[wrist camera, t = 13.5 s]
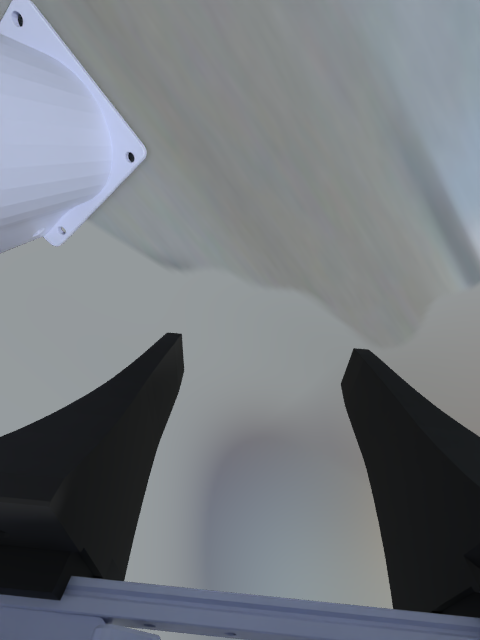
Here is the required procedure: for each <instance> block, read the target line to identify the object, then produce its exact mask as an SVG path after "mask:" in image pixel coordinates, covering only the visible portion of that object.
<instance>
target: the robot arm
mask: <svg viewBox="0 0 480 640" xmlns="http://www.w3.org/2000/svg"><path fill="white" fill-rule="evenodd" d="M20 14H21V16H22V18H23V26H21V27H20V25H19V23H18V16H19V15H20ZM130 152H131V153H132V154H133V155H134V157H135V160H134V162H131V161H130V160H129V158H128V155H129V153H130ZM146 154H147V151H146V148H145V146H144V144H143V143H142V142H141V141H140V139H139V138H138V137H137V135H136V134H135V133H134V132H133V130H132V129H131V128H130V126H129V125H128V124H127V123H126V121H125V120H124V119H123V117H122V116H121V115H120V114H119V112H118V111H117V110H116V108H115V107H114V106H113V105H112V103H111V102H110V101H109V99H108V98H107V97H106V96H105V94H104V93H103V92H102V90H101V89H100V88H99V87H98V85H97V84H96V83H95V81H94V80H93V79H92V78H91V76H90V75H89V74H88V73H87V71H86V70H85V69H84V67H83V66H82V65H81V64H80V62H79V61H78V60H77V58H76V57H75V56H74V55H73V53H72V52H71V51H70V49H69V48H68V47H67V46H66V44H65V43H64V42H63V40H62V39H61V38H60V37H59V35H58V34H57V33H56V31H55V30H54V29H53V28H52V26H51V25H50V24H49V22H48V21H47V20H46V19H45V17H44V16H43V15H42V13H41V12H40V11H39V10H38V8H37V7H36V6H35V4H34V3H33V2H32V1H31V0H12V1H11V3H10V5H9V7H8V9H7V10H6V12H5V14H4V16H3V18H2V20H1V22H0V253H3V252H5V251H7V250H10V249H13V248H15V247H18V246H20V245H23V244H25V243H27V242H30V241H32V240H35V239H37V238H40V237H43V238H45V239H46V240H47V241H48V242H49V243H50V244H51V245H53V246H60V245H62V244H63V243H64V242H65V241H66V240H67V239H68V238H69V237H70V236H71V235H72V234H73V233H74V232H75V231H76V230H77V229H78V228H79V227H80V226H81V225H82V224H83V223H84V222H85V221H86V220H87V219H88V217H89V216H90V215H91V214H92V213H93V212H94V211H95V210H96V209H97V208H98V207H99V206H100V205H101V204H102V203H103V202H104V201H105V200H106V199H107V198H108V197H109V196H110V195H111V194H112V193H113V191H114V190H115V189H116V188H117V187H118V186H119V185H120V184H121V183H122V182H123V181H124V180H125V179H126V178H127V177H128V176H129V175H130V174H131V173H132V172H133V171H134V170H135V169H136V168H137V167H138V165H139V164H140V163H141V162H142V161H143V160H144V159H145V158H146ZM61 227H63V228H64V229H65V230H66V233H65V232H63V231H62V229H61ZM183 373H184V361H183V347H182V334H177V333H166V334H165V335H164V336H163V337H162V338H161V339H159V340H158V341H157V342H156V343H155V344H154V345H153V346H152V347H150V348H149V349H148V350H147V351H146V352H145V353H144V354H142V355H141V356H140V357H139V358H138V359H136V360H135V361H134V362H133V363H132V364H130V365H129V366H128V367H126V368H125V369H124V370H122V371H121V372H120V373H119V374H117V375H116V376H115V377H114V378H112V379H111V380H109V381H107V382H106V383H105V384H103V385H102V386H100V387H98V388H97V389H95V390H94V391H92V392H90V393H89V394H87V395H85V396H84V397H82V398H80V399H78V400H76V401H75V402H73V403H71V404H69V405H67V406H66V407H64V408H62V409H60V410H58V411H57V412H54V413H52V414H51V415H49V416H46V417H44V418H43V419H40V420H38V421H36V422H34V423H32V424H30V425H27V426H25V427H23V428H21V429H18V430H16V431H14V432H12V433H9V434H6V435H4V436H2V437H0V640H161V639H160V637H159V636H158V635H155V634H151V633H147V632H143V631H139V630H135V629H130V628H127V627H132V628H142V629H150V630H160V631H169V632H178V633H188V634H197V635H206V636H216V637H225V638H235V639H244V640H480V437H479V436H477V435H476V434H474V433H473V432H471V431H470V430H468V429H467V428H465V427H464V426H463V425H461V424H460V423H458V422H457V421H455V420H454V419H452V418H451V417H450V416H448V415H447V414H445V413H444V412H443V411H441V410H440V409H439V408H437V407H436V406H435V405H433V404H432V403H431V402H430V401H428V400H427V399H426V398H425V397H423V396H422V395H421V394H420V393H418V392H417V391H416V390H415V389H414V388H412V387H411V386H410V385H409V384H408V383H406V382H405V381H404V380H403V379H402V378H401V377H400V376H398V375H397V374H396V373H395V372H394V371H393V370H392V369H390V368H389V367H388V366H387V365H386V364H385V363H384V362H383V361H381V360H380V359H379V358H378V357H377V356H375V355H374V354H373V353H372V352H371V351H370V350H366V349H355V348H354V349H353V352H352V355H351V358H350V360H349V363H348V366H347V368H346V371H345V374H344V377H343V379H342V382H341V387H342V393H343V398H344V402H345V407H346V409H347V413H348V416H349V419H350V421H351V425H352V427H353V430H354V433H355V436H356V439H357V442H358V445H359V447H360V450H361V453H362V456H363V459H364V462H365V465H366V468H367V473H368V477H369V481H370V485H371V489H372V494H373V498H374V503H375V507H376V512H377V517H378V521H379V526H380V531H381V537H382V542H383V547H384V552H385V558H386V564H387V571H388V577H389V583H390V589H391V596H392V603H393V609H387V608H377V607H368V606H367V607H366V606H358V605H348V604H338V603H328V602H318V601H309V600H299V599H290V598H280V597H271V596H261V595H251V594H241V593H232V592H222V591H213V590H203V589H193V588H184V587H174V586H164V585H154V584H145V583H135V582H125V581H124V579H125V574H126V570H127V565H128V561H129V556H130V552H131V548H132V543H133V538H134V535H135V530H136V526H137V522H138V518H139V514H140V510H141V506H142V502H143V498H144V495H145V491H146V487H147V483H148V479H149V476H150V472H151V468H152V465H153V461H154V457H155V454H156V451H157V447H158V444H159V442H160V439H161V436H162V434H163V431H164V429H165V426H166V423H167V421H168V418H169V416H170V413H171V411H172V408H173V405H174V403H175V400H176V398H177V395H178V392H179V389H180V385H181V381H182V377H183Z"/></svg>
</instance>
